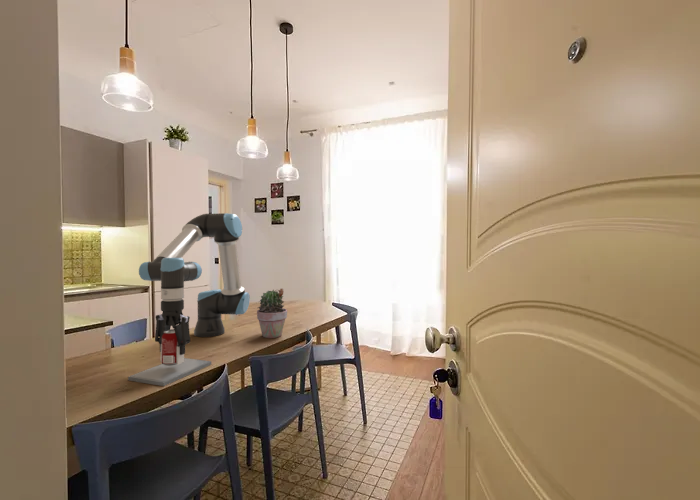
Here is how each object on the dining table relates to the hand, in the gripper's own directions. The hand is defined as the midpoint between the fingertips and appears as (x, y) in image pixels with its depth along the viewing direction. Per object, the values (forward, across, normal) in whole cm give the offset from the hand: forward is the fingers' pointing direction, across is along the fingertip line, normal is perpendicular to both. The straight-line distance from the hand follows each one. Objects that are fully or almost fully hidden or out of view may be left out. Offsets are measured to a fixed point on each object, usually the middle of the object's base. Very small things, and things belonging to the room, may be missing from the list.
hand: (172, 361), depth 123 cm
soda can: (+1, 0, 0) cm, 1 cm away
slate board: (+4, 0, 0) cm, 4 cm away
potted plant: (+4, +6, +57) cm, 57 cm away
